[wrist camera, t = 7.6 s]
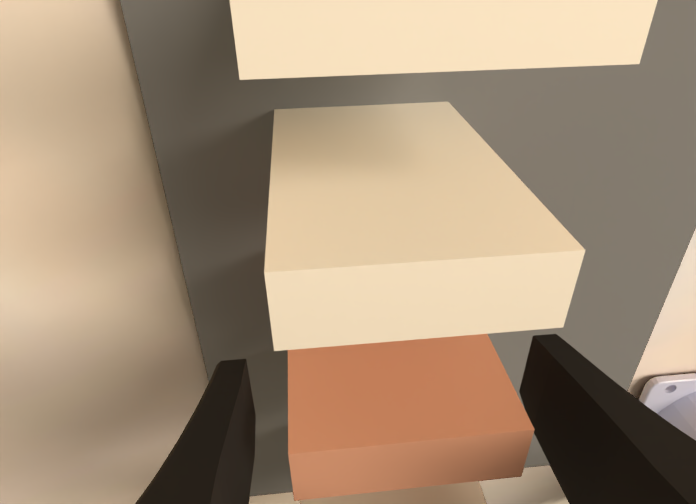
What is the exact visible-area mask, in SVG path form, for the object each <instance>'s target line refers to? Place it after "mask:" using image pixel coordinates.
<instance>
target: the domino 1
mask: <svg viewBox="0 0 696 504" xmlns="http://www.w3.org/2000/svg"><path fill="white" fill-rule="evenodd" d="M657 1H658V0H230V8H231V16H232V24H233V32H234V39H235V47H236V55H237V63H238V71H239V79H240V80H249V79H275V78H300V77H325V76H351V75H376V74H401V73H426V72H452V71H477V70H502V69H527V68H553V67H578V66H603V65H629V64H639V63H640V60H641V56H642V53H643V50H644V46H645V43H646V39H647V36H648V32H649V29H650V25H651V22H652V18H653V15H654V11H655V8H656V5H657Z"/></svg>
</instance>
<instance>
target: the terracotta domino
mask: <svg viewBox="0 0 696 504" xmlns="http://www.w3.org/2000/svg"><path fill="white" fill-rule="evenodd" d="M534 430H535V429H534V427H533V425H532V423H531V421H530V419H529V417H528V415H527V413H526V411H525V409H524V407H523V405H522V403H521V401H520V399H519V397H518V395H517V393H516V391H515V389H514V387H513V385H512V383H511V381H510V379H509V377H508V375H507V373H506V371H505V368H504V366H503V364H502V362H501V360H500V358H499V356H498V354H497V352H496V350H495V348H494V346H493V344H492V342H491V340H490V338H489V336H488V334H477V335H465V336H453V337H441V338H429V339H416V340H404V341H392V342H380V343H368V344H355V345H343V346H331V347H319V348H307V349H295V350H288V457H289V464H290V472H291V479H292V487H293V495H294V501H297V500H307V499H316V498H325V497H334V496H344V495H353V494H362V493H372V492H381V491H390V490H399V489H409V488H418V487H427V486H436V485H446V484H455V483H464V482H474V481H483V480H492V479H501V478H511V477H520V476H522V472H523V469H524V465H525V461H526V458H527V454H528V451H529V447H530V444H531V440H532V437H533V433H534Z"/></svg>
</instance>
